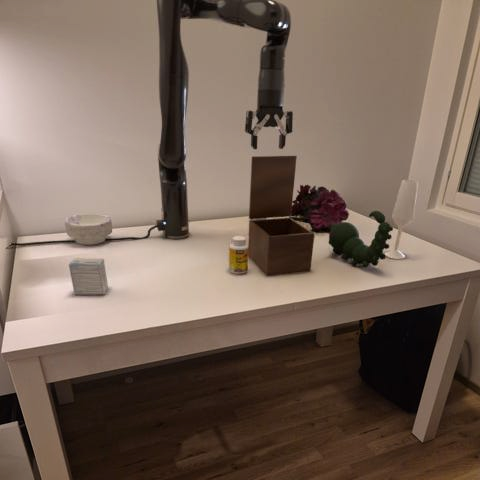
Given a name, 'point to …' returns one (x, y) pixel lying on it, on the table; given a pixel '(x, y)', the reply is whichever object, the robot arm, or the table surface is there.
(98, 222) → the white stone bowl
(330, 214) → the flower arrangement
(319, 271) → the table surface
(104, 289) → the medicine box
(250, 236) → the chest
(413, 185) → the champagne flute
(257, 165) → the lid
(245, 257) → the supplement bottle
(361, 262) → the toy figurine
